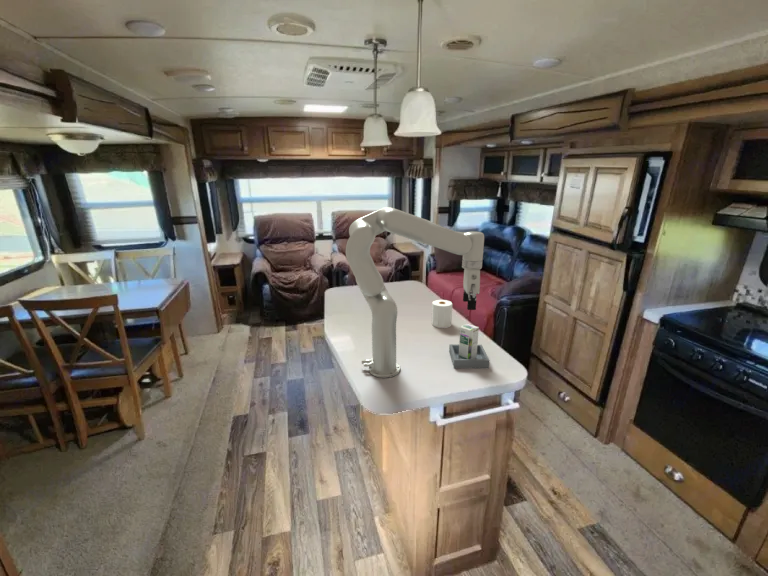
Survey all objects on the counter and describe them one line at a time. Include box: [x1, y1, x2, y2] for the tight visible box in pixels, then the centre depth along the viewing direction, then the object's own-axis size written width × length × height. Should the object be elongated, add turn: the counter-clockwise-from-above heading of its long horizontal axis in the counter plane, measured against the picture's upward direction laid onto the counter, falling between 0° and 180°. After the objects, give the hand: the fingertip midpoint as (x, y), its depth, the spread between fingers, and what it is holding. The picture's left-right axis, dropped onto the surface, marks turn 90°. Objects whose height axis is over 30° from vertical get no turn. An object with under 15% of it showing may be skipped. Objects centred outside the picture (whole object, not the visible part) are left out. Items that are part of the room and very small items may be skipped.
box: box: [448, 344, 490, 369], centre depth 147 cm, size 14×14×4 cm
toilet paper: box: [431, 299, 453, 329], centre depth 183 cm, size 10×10×12 cm
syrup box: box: [458, 323, 480, 359], centre depth 146 cm, size 6×6×14 cm
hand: (469, 305), depth 141 cm, fingers open, 9 cm apart
